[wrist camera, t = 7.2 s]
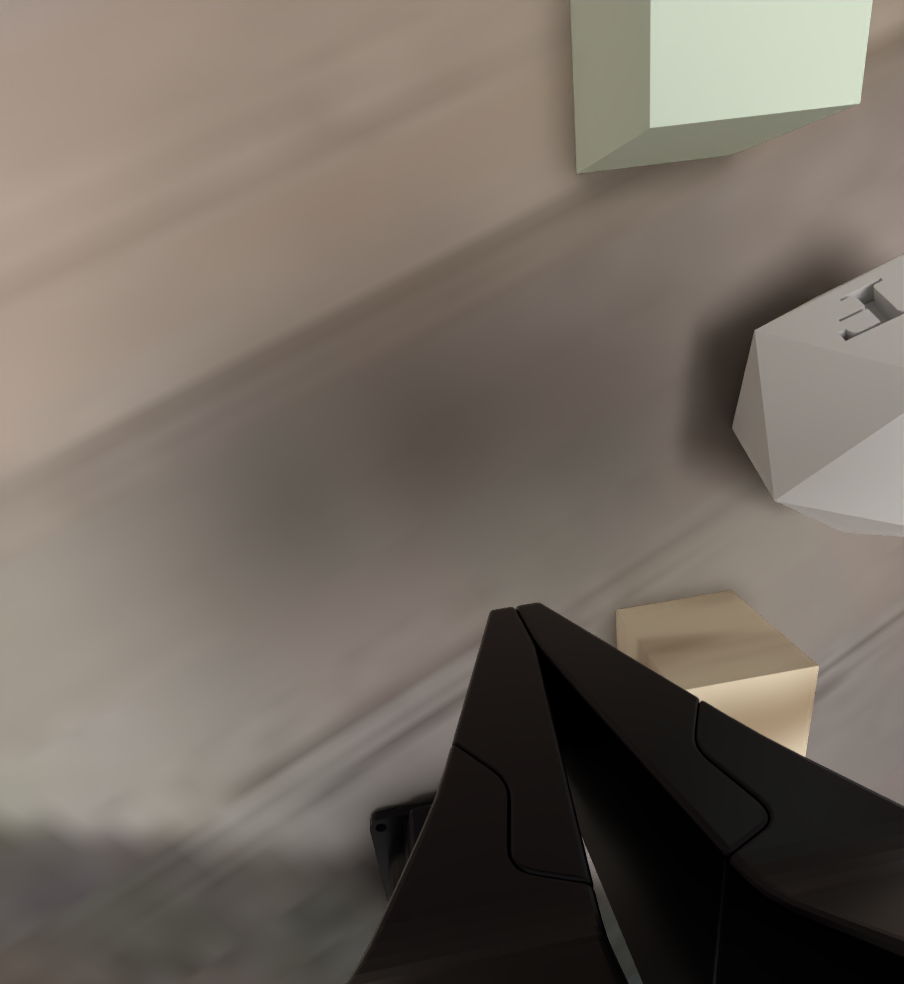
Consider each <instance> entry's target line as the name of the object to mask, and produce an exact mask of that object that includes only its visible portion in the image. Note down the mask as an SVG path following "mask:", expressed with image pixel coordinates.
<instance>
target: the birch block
mask: <svg viewBox="0 0 904 984" xmlns="http://www.w3.org/2000/svg"><path fill="white" fill-rule="evenodd" d="M616 629H617V649H618V650H620V651H621V652H623V653H625V654H626V655H628V656H630V657H631V658H633V659H635V660H636V661H638V662H640V663H641V664H643V665H645V666H646V667H648V668H650V669H651V670H653V671H655V672H656V673H658V674H660V675H661V676H663V677H665V678H666V679H668V680H670V681H671V682H673V683H675V684H676V685H678V686H680V687H681V688H683V689H685V690H686V691H688V692H690V693H691V694H693V695H695V696H696V697H698V698H699V703H700V701H705V702H707V703H708V704H710V705H712V706H713V707H715V708H717V709H718V710H720V711H722V712H723V713H725V714H727V715H728V716H730V717H732V718H734V719H736V720H737V721H739V722H741V723H743V724H744V725H746V726H748V727H750V728H751V729H753V730H755V731H757V732H758V733H760V734H762V735H764V736H766V737H767V738H769V739H771V740H773V741H775V742H777V743H779V744H781V745H783V746H785V747H787V748H789V749H791V750H793V751H794V752H796V753H798V754H800V755H802V756H804V757H805V754H806V748H807V741H808V735H809V728H810V722H811V715H812V709H813V702H814V696H815V689H816V682H817V676H818V669H819V665H818V664H816V663H815V662H814V661H813V660H812V659H811V658H810V657H808V656H807V655H806V654H805V653H804V652H803V651H801V650H800V649H799V648H798V647H797V646H796V645H794V644H793V643H792V642H791V641H790V640H789V639H787V638H786V637H785V636H784V635H783V634H782V633H780V632H779V631H778V630H777V629H776V628H775V627H773V626H772V625H771V624H770V623H769V622H768V621H766V620H765V619H764V618H763V617H762V616H761V615H759V614H758V613H757V612H756V611H755V610H754V609H752V608H751V607H750V606H749V605H748V604H747V603H746V602H744V601H743V600H742V599H741V598H740V597H739V596H737V595H736V594H735V593H734V592H733V591H732V590H730V591H724V592H718V593H713V594H707V595H701V596H695V597H689V598H683V599H677V600H672V601H666V602H660V603H654V604H648V605H642V606H636V607H631V608H625V609H619V610H616Z"/></svg>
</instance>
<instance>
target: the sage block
mask: <svg viewBox="0 0 904 984" xmlns="http://www.w3.org/2000/svg"><path fill="white" fill-rule="evenodd" d="M872 1H873V0H570V8H571V35H572V62H573V89H574V116H575V143H576V171H577V174H581V173H589V172H597V171H605V170H614V169H622V168H630V167H638V166H647V165H655V164H663V163H671V162H679V161H688V160H696V159H704V158H712V157H721V156H729V155H733V154H736V153H738V152H741V151H743V150H746V149H748V148H751V147H753V146H756V145H758V144H760V143H763V142H765V141H768V140H770V139H773V138H775V137H778V136H780V135H783V134H785V133H788V132H790V131H793V130H795V129H798V128H800V127H803V126H805V125H808V124H810V123H813V122H815V121H818V120H820V119H823V118H825V117H828V116H830V115H833V114H835V113H838V112H840V111H843V110H845V109H848V108H850V107H853V106H855V105H858V104H860V100H861V91H862V83H863V75H864V67H865V59H866V50H867V42H868V34H869V26H870V17H871V9H872Z"/></svg>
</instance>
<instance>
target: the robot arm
mask: <svg viewBox="0 0 904 984" xmlns="http://www.w3.org/2000/svg"><path fill="white" fill-rule="evenodd" d="M370 832H371V836H372V840H373V844H374V848H375V852H376V856H377V860H378V864H379V868H380V872H381V876H382V880H383V884H384V888H385V892H386V896H387V900H388V905H387V907H386V910H385V912H384V914H383V916H382V918H381V920H380V923H379V925H378V927H377V929H376V931H375V933H374V935H373V937H372V940H371V942H370V944H369V946H368V948H367V950H366V951H365V953H364V955H363V957H362V959H361V960H360V962H359V964H358V965H357V967H356V969H355V970H354V972H353V973H352V975H351V976H350V978H349V979H348V980H347V982H346V983H345V984H628V982H627V979H626V977H625V975H624V973H623V971H622V969H621V967H620V964H619V962H618V960H617V958H616V956H615V954H614V952H613V950H612V947H611V945H610V942H609V940H608V937H607V934H606V931H605V928H604V924H603V921H602V918H601V914H600V910H599V906H598V902H597V898H596V894H595V891H594V889H593V881H592V877H591V873H590V869H589V865H588V861H587V857H586V852H585V848H584V844H583V840H584V843H585V845H586V847H587V850H588V852H589V855H590V857H591V859H592V862H593V864H594V867H595V869H596V871H597V874H598V876H599V879H600V881H601V883H602V886H603V888H604V891H605V893H606V896H607V898H608V900H609V903H610V905H611V908H612V910H613V912H614V915H615V917H616V920H617V922H618V924H619V927H620V929H621V932H622V934H623V936H624V939H625V941H626V944H627V946H628V949H629V951H630V953H631V956H632V958H633V961H634V963H635V965H636V968H637V970H638V973H639V975H640V977H641V980H642V982H643V984H904V806H902V805H900V804H898V803H896V802H894V801H892V800H890V799H888V798H886V797H884V796H882V795H880V794H878V793H876V792H874V791H872V790H870V789H868V788H866V787H864V786H862V785H860V784H858V783H856V782H854V781H852V780H850V779H848V778H846V777H844V776H842V775H840V774H838V773H836V772H834V771H832V770H830V769H828V768H826V767H824V766H822V765H820V764H818V763H816V762H814V761H812V760H810V759H808V758H806V757H804V756H802V755H800V754H798V753H796V752H794V751H793V750H791V749H789V748H787V747H785V746H783V745H781V744H779V743H777V742H775V741H773V740H771V739H769V738H767V737H766V736H764V735H762V734H760V733H758V732H757V731H755V730H753V729H751V728H750V727H748V726H746V725H744V724H743V723H741V722H739V721H737V720H736V719H734V718H732V717H730V716H728V715H727V714H725V713H723V712H722V711H720V710H718V709H717V708H715V707H713V706H712V705H710V704H708V703H707V702H705V701H700V703H699V698H698V697H696V696H695V695H693V694H691V693H690V692H688V691H686V690H685V689H683V688H681V687H680V686H678V685H676V684H675V683H673V682H671V681H670V680H668V679H666V678H665V677H663V676H661V675H660V674H658V673H656V672H655V671H653V670H651V669H650V668H648V667H646V666H645V665H643V664H641V663H640V662H638V661H636V660H635V659H633V658H631V657H630V656H628V655H626V654H625V653H623V652H621V651H620V650H618V649H616V648H615V647H613V646H611V645H610V644H608V643H606V642H605V641H603V640H601V639H600V638H598V637H596V636H595V635H593V634H591V633H590V632H588V631H586V630H585V629H583V628H581V627H580V626H578V625H576V624H575V623H573V622H571V621H570V620H568V619H566V618H565V617H563V616H561V615H560V614H558V613H556V612H555V611H553V610H551V609H550V608H548V607H546V606H545V605H543V604H541V603H531V604H526V605H520V606H518V607H516V609H515V608H513V607H508V608H502V609H496V610H492V611H491V612H490V614H489V617H488V620H487V624H486V627H485V631H484V634H483V638H482V641H481V645H480V648H479V652H478V655H477V659H476V662H475V666H474V669H473V673H472V676H471V680H470V683H469V687H468V690H467V694H466V697H465V701H464V704H463V708H462V711H461V715H460V718H459V722H458V725H457V729H456V732H455V735H454V739H453V742H452V747H451V749H450V752H449V755H448V759H447V762H446V766H445V769H444V772H443V775H442V778H441V781H440V784H439V787H438V790H437V793H436V796H435V799H434V801H431V802H426V803H421V804H416V805H411V806H406V807H401V808H396V809H391V810H385V811H380V812H377V813H375V814H373V815H372V817H371V818H370ZM581 835H582V836H581ZM582 838H583V840H582Z"/></svg>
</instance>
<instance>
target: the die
mask: <svg viewBox="0 0 904 984" xmlns="http://www.w3.org/2000/svg"><path fill="white" fill-rule="evenodd" d="M732 429H733V431H734V433H735V435H736V436H737V438H738V440H739V441H740V443H741V445H742V446H743V448H744V450H745V452H746V453H747V455H748V457H749V458H750V460H751V462H752V464H753V465H754V467H755V469H756V470H757V472H758V474H759V476H760V477H761V479H762V481H763V482H764V484H765V486H766V487H767V489H768V491H769V493H770V494H771V496H772V498H773V499H774V501H776V502H778V503H780V504H782V505H784V506H786V507H789V508H791V509H793V510H795V511H797V512H799V513H801V514H804V515H806V516H808V517H810V518H812V519H814V520H817V521H819V522H821V523H823V524H825V525H827V526H829V527H832V528H834V529H836V530H838V531H840V532H847V533H860V534H874V535H887V536H900V537H904V254H902V255H900V256H898V257H896V258H894V259H892V260H890V261H888V262H886V263H884V264H882V265H880V266H878V267H876V268H874V269H872V270H870V271H867V272H865V273H863V274H861V275H859V276H857V277H855V278H853V279H851V280H849V281H847V282H845V283H843V284H841V285H839V286H837V287H835V288H833V289H831V290H829V291H827V292H825V293H823V294H821V295H819V296H817V297H815V298H813V299H811V300H809V301H808V302H806V303H804V304H802V305H800V306H798V307H797V308H795V309H793V310H791V311H789V312H787V313H785V314H784V315H782V316H780V317H778V318H776V319H774V320H773V321H771V322H769V323H767V324H765V325H763V326H761V327H760V328H758V329H756V330H755V331H754V335H753V339H752V343H751V348H750V352H749V356H748V361H747V365H746V369H745V374H744V378H743V382H742V387H741V391H740V395H739V399H738V404H737V408H736V412H735V417H734V421H733V425H732Z"/></svg>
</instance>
